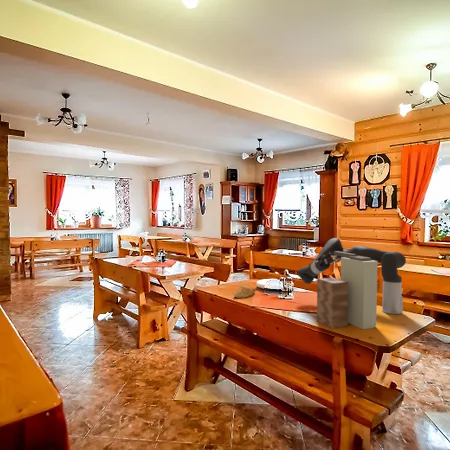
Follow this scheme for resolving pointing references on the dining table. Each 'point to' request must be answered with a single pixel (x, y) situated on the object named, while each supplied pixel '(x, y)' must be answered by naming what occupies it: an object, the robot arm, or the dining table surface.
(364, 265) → the tall pale grey box
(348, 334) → the dining table surface
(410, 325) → the dining table surface
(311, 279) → the robot arm
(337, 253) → the spatula
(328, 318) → the wood grain box
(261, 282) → the plate
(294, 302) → the dining table surface
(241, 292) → the tan rounded lump
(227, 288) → the dining table surface
